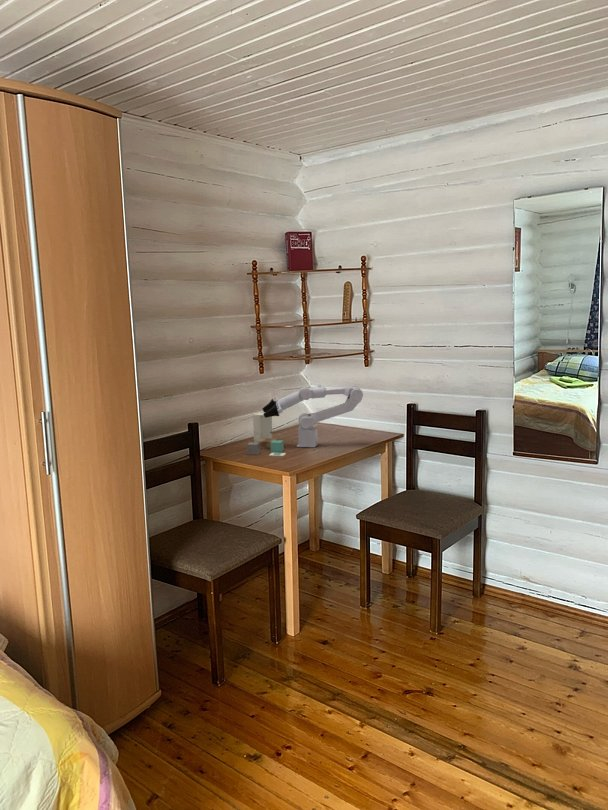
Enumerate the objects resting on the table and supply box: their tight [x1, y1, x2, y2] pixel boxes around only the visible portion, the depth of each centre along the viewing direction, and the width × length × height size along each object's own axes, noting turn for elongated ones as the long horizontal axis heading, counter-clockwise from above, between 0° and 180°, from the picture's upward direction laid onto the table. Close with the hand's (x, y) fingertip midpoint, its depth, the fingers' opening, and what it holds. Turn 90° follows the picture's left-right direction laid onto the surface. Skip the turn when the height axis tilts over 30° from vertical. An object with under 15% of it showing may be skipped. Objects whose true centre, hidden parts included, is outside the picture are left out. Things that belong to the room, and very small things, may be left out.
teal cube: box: [270, 439, 285, 453], centre depth 318 cm, size 5×5×5 cm
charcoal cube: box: [246, 441, 261, 456], centre depth 315 cm, size 5×5×5 cm
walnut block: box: [258, 437, 278, 450], centre depth 328 cm, size 8×8×4 cm
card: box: [268, 452, 287, 457], centre depth 311 cm, size 7×5×1 cm
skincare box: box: [252, 412, 273, 442], centre depth 340 cm, size 8×6×15 cm
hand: (263, 413), depth 326 cm, fingers open, 7 cm apart
